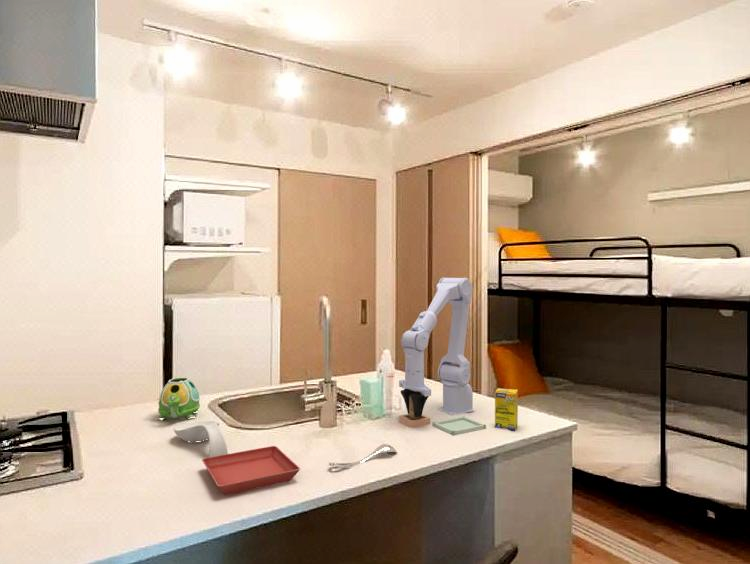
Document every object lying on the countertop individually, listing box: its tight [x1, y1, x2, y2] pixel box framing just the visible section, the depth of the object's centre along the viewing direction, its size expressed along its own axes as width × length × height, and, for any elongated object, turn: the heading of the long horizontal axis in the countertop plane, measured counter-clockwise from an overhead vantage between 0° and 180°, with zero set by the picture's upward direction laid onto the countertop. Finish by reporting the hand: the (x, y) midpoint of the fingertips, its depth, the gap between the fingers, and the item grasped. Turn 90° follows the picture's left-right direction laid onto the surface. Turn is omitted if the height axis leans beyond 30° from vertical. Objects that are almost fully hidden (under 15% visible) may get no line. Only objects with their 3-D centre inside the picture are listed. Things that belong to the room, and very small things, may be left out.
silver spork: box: [328, 443, 398, 470], centre depth 124 cm, size 20×4×5 cm
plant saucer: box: [201, 445, 301, 495], centre depth 116 cm, size 18×18×3 cm
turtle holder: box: [157, 377, 201, 419], centre depth 160 cm, size 12×18×12 cm
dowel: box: [409, 396, 420, 420], centre depth 154 cm, size 3×3×8 cm
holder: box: [398, 413, 431, 428], centre depth 154 cm, size 7×7×2 cm
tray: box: [432, 416, 487, 436], centre depth 149 cm, size 12×10×1 cm
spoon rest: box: [173, 420, 229, 458], centre depth 136 cm, size 24×12×7 cm, turn 37°
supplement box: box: [494, 387, 519, 432], centre depth 151 cm, size 6×6×11 cm
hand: (414, 414), depth 154 cm, fingers closed on dowel, 3 cm apart
